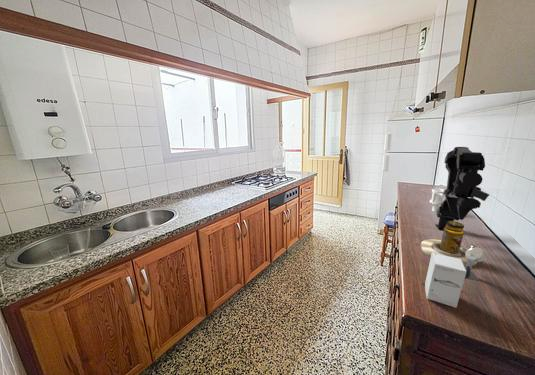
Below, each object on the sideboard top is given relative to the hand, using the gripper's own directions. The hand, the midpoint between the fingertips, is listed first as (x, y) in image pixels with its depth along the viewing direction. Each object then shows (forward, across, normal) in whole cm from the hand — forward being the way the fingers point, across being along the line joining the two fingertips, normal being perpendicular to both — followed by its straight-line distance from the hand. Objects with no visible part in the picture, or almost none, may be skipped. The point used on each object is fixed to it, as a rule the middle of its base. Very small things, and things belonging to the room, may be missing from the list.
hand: (456, 215), depth 96 cm
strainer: (+13, +44, -7) cm, 47 cm away
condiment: (+11, -14, +6) cm, 19 cm away
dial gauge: (+13, -26, +5) cm, 30 cm away
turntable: (+12, -14, +6) cm, 19 cm away
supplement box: (+13, -42, +17) cm, 47 cm away
